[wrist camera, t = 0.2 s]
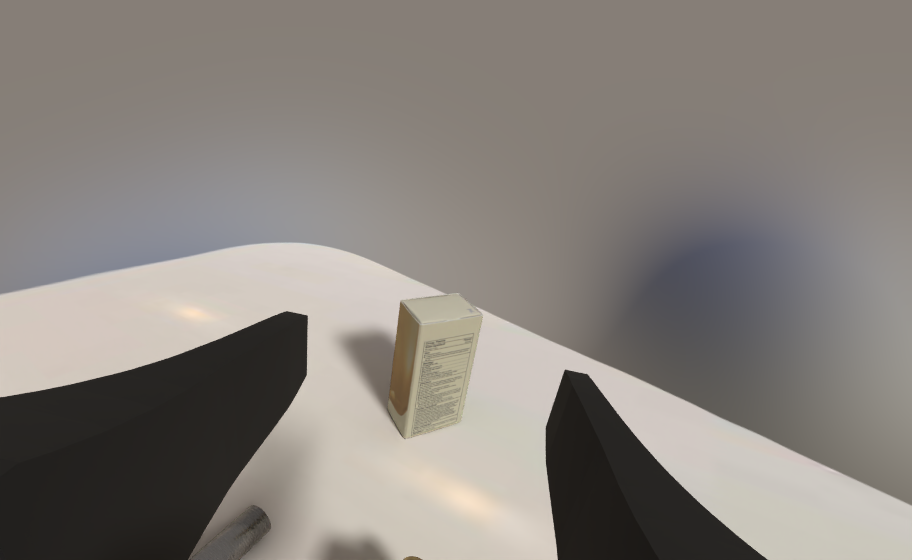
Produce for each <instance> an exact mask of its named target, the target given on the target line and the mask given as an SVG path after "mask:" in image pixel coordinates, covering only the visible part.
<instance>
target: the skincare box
mask: <svg viewBox="0 0 912 560" xmlns="http://www.w3.org/2000/svg"><path fill="white" fill-rule="evenodd" d="M482 318H483V314H482V313H481V312H480V311H478V309H476V308H475V307H474V306H473V305H472V304H471V303H470V302H469V301H467V300H466V299H465V298H464V297H462V296H461V295H460V294H459V293H457V294H446V295H437V296H429V297H421V298H414V299H406V300H401V302H400V310H399V318H398V326H397V334H396V343H395V351H394V359H393V368H392V376H391V385H390V392H389V400H388V411H389V412H390V414H391V416H392V418H393V420H394V422H395V424H396V426H397V428H398V429H399V431H400V433H401V434H402V436H403V438H410V437H414V436H417V435H421V434H424V433H427V432H431V431H434V430H437V429H440V428H443V427H446V426H450V425H453V424H456V423H459V422H460V421H461V418H462V413H463V408H464V404H465V399H466V394H467V389H468V384H469V380H470V375H471V370H472V365H473V361H474V356H475V351H476V347H477V342H478V337H479V332H480V328H481V323H482Z"/></svg>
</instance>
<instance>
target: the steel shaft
mask: <svg viewBox="0 0 912 560" xmlns="http://www.w3.org/2000/svg"><path fill="white" fill-rule="evenodd" d="M270 529H271V523H270V520H269V518H268V516H267V515H266V513H265V512H264V511H263V510H262V509H261V508H259V507H257V506H254V505H253V506H250V507H249V508H248V509H247V510H246V511H245V512H244V513H242V514H241V515H240V516H239V517H238V518H237V519H236V520H234V521H233V522H232V523H231V524H230V525H229V526H228V527H226V528H225V529H224V530H223V531H222V532H221V533H219V534H218V535H217V536H216V537H215V538H214V539H213V540H211V541H210V542H209V543H208V544H207V545H206V546H205V547H203V548H202V549H201V550H200V551H199V552H198V553H197V554H195V555H194V556H193V557H192V558H191V559H190V560H239V559H240V558H241V557H242V556H243V555H244V554H245V553H247V552H248V551H249V550H250V549H251V548H252V547H253V546H254V545H255V544H256V543H257V542H258V541H259V540H260V539H261V538H262V537H263V536H264V535H265V534H266V533H267V532H268V531H269V530H270Z"/></svg>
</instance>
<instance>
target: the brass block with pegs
mask: <svg viewBox="0 0 912 560" xmlns="http://www.w3.org/2000/svg"><path fill="white" fill-rule="evenodd" d="M403 560H422V559H420V558H418V557H414V556H410V557H406V558H404V559H403Z"/></svg>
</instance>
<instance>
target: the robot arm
mask: <svg viewBox="0 0 912 560" xmlns="http://www.w3.org/2000/svg"><path fill="white" fill-rule="evenodd" d="M307 325H308V316H307V315H302V314H297V313H293V312H288V311H286V312H283V313H280V314H278V315H275V316H272V317H270V318H268V319H265V320H263V321H261V322H258V323H256V324H254V325H251V326H249V327H247V328H244V329H242V330H240V331H237V332H235V333H232V334H230V335H228V336H225V337H223V338H221V339H218V340H216V341H213V342H210V343H208V344H205V345H203V346H200V347H197V348H195V349H192V350H189V351H187V352H184V353H182V354H179V355H176V356H173V357H170V358H167V359H164V360H161V361H158V362H155V363H152V364H148V365H145V366H142V367H138V368H135V369H132V370H128V371H124V372H121V373H117V374H113V375H109V376H104V377H100V378H96V379H92V380H88V381H84V382H79V383H75V384H71V385H66V386H62V387H56V388H51V389H46V390H41V391H36V392H30V393H24V394H19V395H13V396H7V397H1V398H0V560H188V558H189V556H190V555H191V553H192V551H193V549H194V548H195V546H196V544H197V542H198V541H199V539H200V537H201V535H202V534H203V532H204V530H205V528H206V527H207V525H208V523H209V522H210V520H211V518H212V517H213V515H214V513H215V512H216V510H217V508H218V507H219V505H220V503H221V502H222V500H223V498H224V497H225V495H226V493H227V492H228V490H229V489H230V487H231V486H232V484H233V483H234V481H235V480H236V478H237V477H238V475H239V474H240V473H241V471H242V470H243V469H244V467H245V466H246V465H247V463H248V462H249V461H250V459H251V458H252V456H253V455H254V454H255V452H256V451H257V450H258V448H259V447H260V446H261V444H262V443H263V442H264V440H265V439H266V438H267V436H268V435H269V434H270V432H271V431H272V430H273V428H274V427H275V426H276V424H277V423H278V421H279V420H280V419H281V417H282V416H283V415H284V413H285V412H286V410H287V409H288V408H289V406H290V405H291V403H292V401H293V399H294V398H295V396H296V394H297V392H298V390H299V389H300V387H301V385H302V383H303V381H304V379H305V377H306V375H307ZM546 467H547V476H548V484H549V492H550V499H551V507H552V514H553V522H554V530H555V537H556V545H557V555H558V560H767V559H766V558H765V557H763V556H762V555H761V554H759V553H758V552H757V551H756V550H754V549H753V548H752V547H751V546H749V545H748V544H747V543H746V542H744V541H743V540H742V539H741V538H739V537H738V536H737V535H736V534H735V533H733V532H732V531H731V530H730V529H729V528H728V527H726V526H725V525H724V524H723V523H722V522H721V521H719V520H718V519H717V518H716V517H715V516H714V515H712V514H711V513H710V512H709V511H708V510H707V509H706V508H705V507H703V506H702V505H701V504H700V503H699V502H698V501H697V500H696V499H695V498H694V497H693V496H692V495H691V494H690V493H689V492H687V491H686V490H685V489H684V488H683V487H682V486H681V485H680V484H679V483H678V482H677V481H676V480H675V479H674V478H673V477H672V476H671V475H670V474H669V473H668V472H667V471H666V470H665V469H664V468H663V466H662V465H661V464H660V463H659V462H658V461H657V460H656V459H655V458H654V457H653V455H652V454H651V453H650V452H649V451H648V450H647V449H646V448H645V446H644V445H643V444H642V443H641V442H640V441H639V440H638V438H637V437H636V436H635V435H634V434H633V432H632V431H631V430H630V429H629V427H628V426H627V425H626V424H625V422H624V421H623V420H622V419H621V417H620V416H619V415H618V414H617V412H616V411H615V410H614V408H613V407H612V406H611V404H610V403H609V402H608V400H607V399H606V398H605V397H604V395H603V394H602V393H601V391H600V390H599V389H598V387H597V386H596V385H595V383H594V382H593V381H592V379H591V378H590V377H589V376H588V374H583V373H578V372H574V371H569V370H565V371H564V374H563V377H562V380H561V383H560V386H559V389H558V392H557V395H556V398H555V401H554V404H553V407H552V410H551V413H550V416H549V419H548V422H547V425H546Z"/></svg>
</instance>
